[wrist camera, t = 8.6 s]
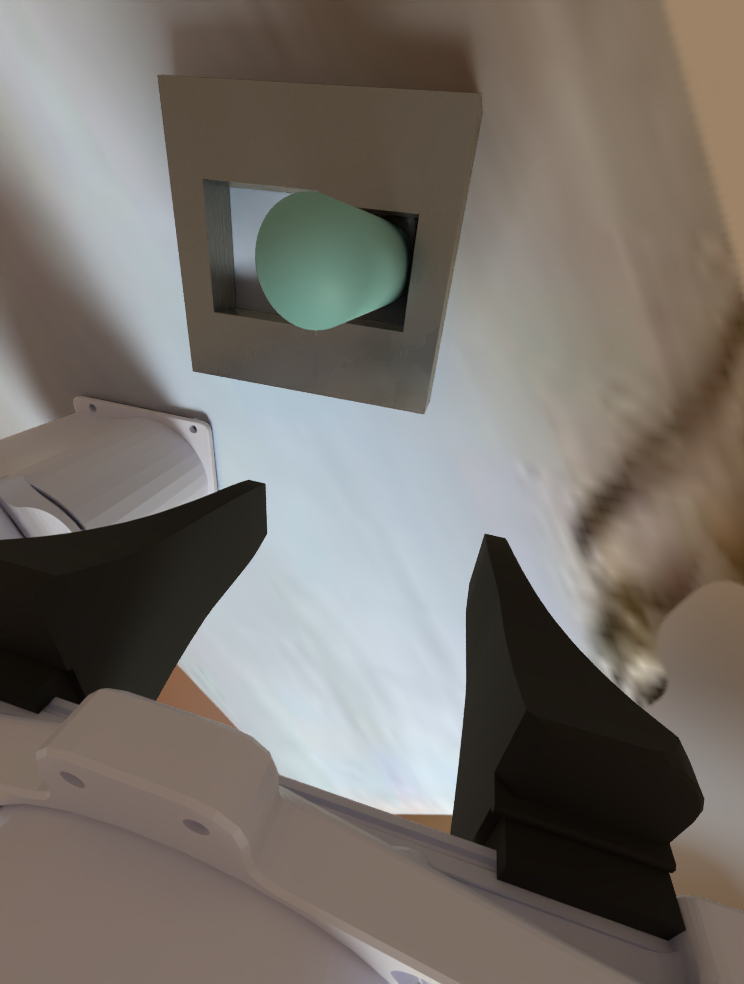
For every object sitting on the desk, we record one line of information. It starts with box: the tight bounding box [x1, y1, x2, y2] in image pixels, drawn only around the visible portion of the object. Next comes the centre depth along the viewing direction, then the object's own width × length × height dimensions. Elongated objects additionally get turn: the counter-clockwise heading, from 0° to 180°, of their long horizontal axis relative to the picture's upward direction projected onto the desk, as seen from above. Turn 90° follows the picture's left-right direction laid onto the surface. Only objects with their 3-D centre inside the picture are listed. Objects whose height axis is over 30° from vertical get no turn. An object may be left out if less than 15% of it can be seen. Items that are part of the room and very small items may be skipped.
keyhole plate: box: [158, 75, 482, 414], centre depth 18 cm, size 12×11×2 cm
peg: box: [255, 192, 414, 330], centre depth 15 cm, size 3×3×8 cm
